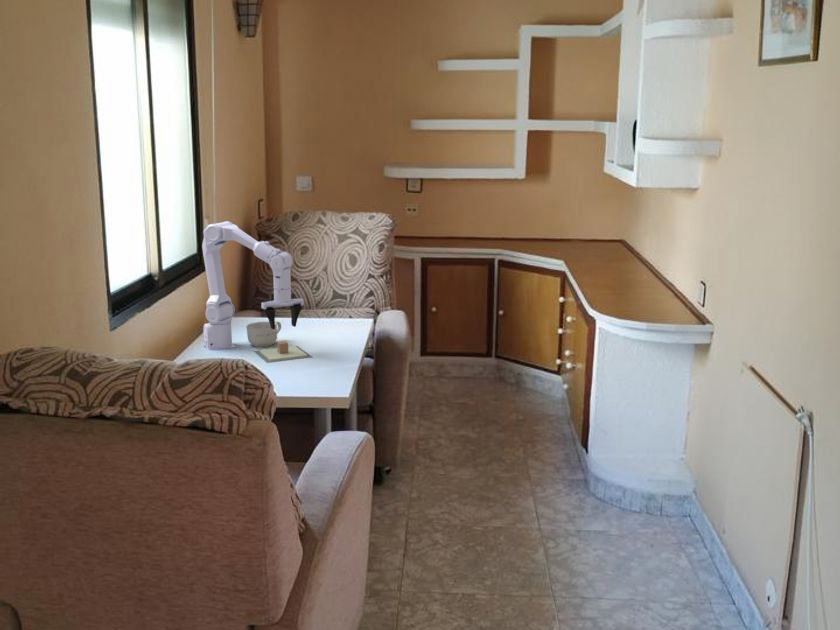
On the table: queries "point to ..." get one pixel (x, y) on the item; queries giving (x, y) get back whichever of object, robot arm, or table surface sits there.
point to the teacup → (262, 333)
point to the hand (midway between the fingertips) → (283, 327)
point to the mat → (284, 359)
